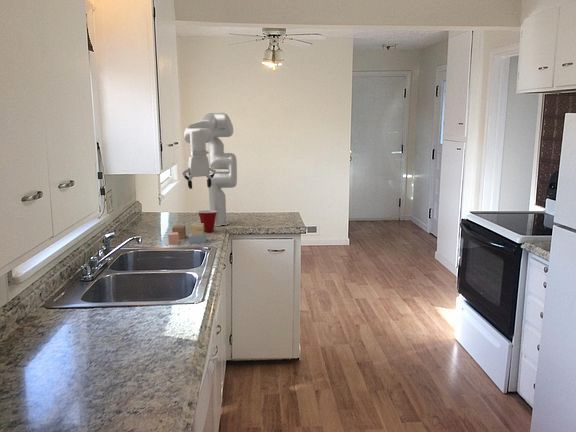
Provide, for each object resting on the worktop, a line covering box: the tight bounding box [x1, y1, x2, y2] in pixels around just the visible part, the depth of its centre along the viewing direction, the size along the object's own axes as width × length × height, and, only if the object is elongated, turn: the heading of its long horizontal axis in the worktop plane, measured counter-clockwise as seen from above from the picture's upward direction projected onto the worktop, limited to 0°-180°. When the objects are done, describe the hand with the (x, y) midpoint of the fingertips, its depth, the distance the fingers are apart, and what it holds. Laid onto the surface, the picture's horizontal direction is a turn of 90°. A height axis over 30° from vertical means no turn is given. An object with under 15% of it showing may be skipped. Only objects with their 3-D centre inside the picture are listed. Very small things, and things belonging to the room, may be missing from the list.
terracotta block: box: [167, 232, 180, 245], centre depth 253 cm, size 5×5×5 cm
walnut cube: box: [171, 225, 187, 240], centre depth 265 cm, size 6×6×6 cm
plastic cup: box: [197, 209, 217, 234], centre depth 278 cm, size 11×11×12 cm
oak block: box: [190, 222, 204, 236], centre depth 255 cm, size 6×6×5 cm
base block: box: [188, 232, 208, 244], centre depth 256 cm, size 8×8×4 cm
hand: (199, 187), depth 251 cm, fingers open, 9 cm apart
